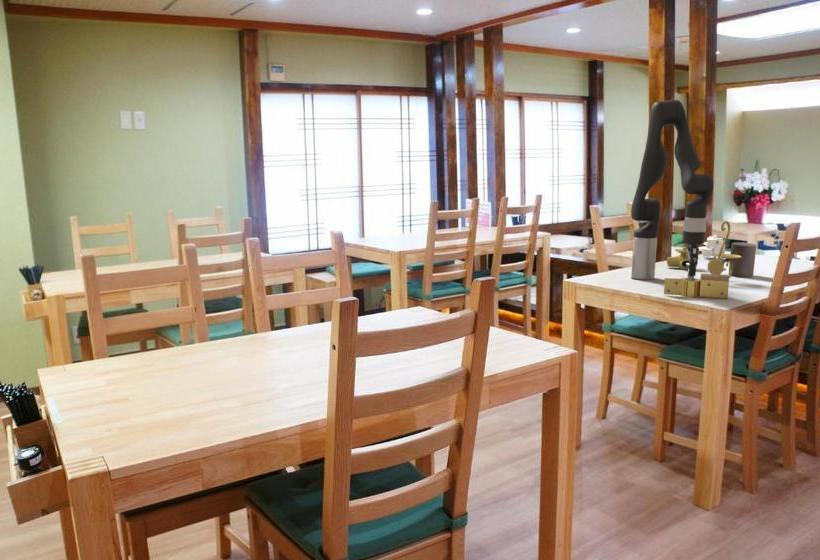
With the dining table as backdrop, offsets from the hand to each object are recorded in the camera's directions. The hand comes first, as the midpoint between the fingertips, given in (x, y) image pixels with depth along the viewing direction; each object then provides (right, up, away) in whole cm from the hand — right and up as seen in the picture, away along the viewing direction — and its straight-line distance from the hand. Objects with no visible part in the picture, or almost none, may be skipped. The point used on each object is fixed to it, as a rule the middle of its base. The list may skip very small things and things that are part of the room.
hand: (691, 273), depth 247 cm
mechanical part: (+45, +8, +86) cm, 97 cm away
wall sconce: (+24, -3, +27) cm, 36 cm away
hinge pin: (0, -8, +1) cm, 8 cm away
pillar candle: (+38, -1, +41) cm, 56 cm away
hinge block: (+2, -8, +1) cm, 8 cm away
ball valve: (+20, +3, +60) cm, 63 cm away
